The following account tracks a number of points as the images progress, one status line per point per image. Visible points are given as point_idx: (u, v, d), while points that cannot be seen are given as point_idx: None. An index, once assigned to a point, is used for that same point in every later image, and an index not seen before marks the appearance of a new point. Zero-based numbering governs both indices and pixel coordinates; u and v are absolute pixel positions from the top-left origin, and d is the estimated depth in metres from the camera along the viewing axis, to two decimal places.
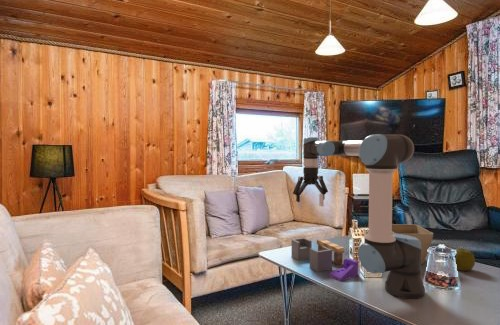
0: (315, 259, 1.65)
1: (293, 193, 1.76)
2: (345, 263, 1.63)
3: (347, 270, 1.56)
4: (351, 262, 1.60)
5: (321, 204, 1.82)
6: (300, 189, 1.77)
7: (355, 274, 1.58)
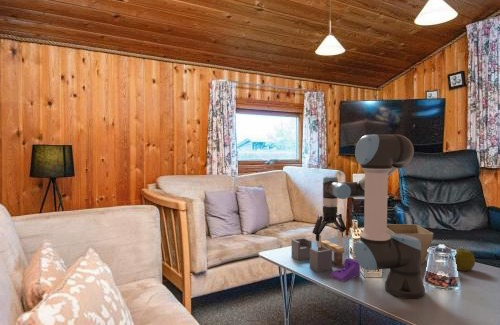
0: (315, 259, 1.65)
1: (313, 232, 1.77)
2: (346, 263, 1.63)
3: (348, 270, 1.56)
4: (352, 262, 1.60)
5: (340, 242, 1.83)
6: (319, 228, 1.78)
7: (356, 274, 1.58)
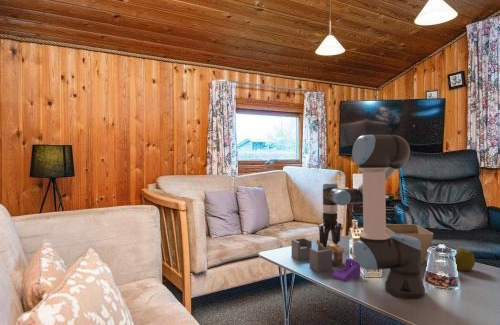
0: (315, 259, 1.65)
1: (320, 242, 1.79)
2: (347, 263, 1.62)
3: (350, 270, 1.56)
4: (353, 262, 1.60)
5: (333, 253, 1.81)
6: (324, 238, 1.79)
7: (357, 274, 1.58)
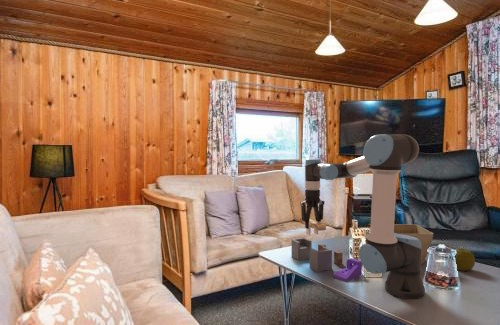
0: (315, 259, 1.65)
1: (302, 220, 1.74)
2: (348, 263, 1.62)
3: (352, 270, 1.56)
4: (355, 262, 1.60)
5: (316, 232, 1.77)
6: (307, 215, 1.74)
7: (359, 274, 1.58)
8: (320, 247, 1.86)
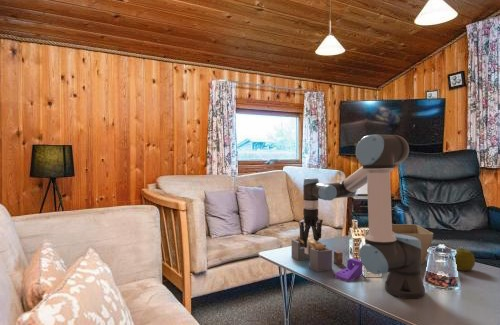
0: (315, 259, 1.65)
1: (300, 239, 1.74)
2: (349, 263, 1.62)
3: (353, 270, 1.56)
4: (356, 262, 1.60)
5: None
6: (305, 234, 1.74)
7: (360, 274, 1.58)
8: None
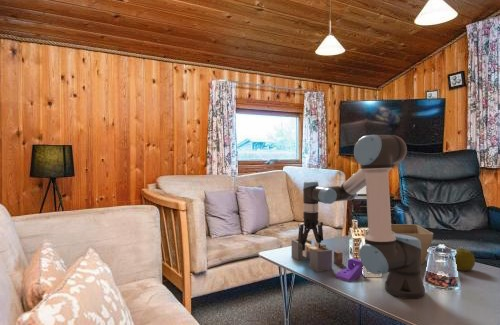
0: (315, 259, 1.65)
1: (298, 242, 1.74)
2: (350, 263, 1.62)
3: (354, 270, 1.56)
4: (356, 262, 1.60)
5: None
6: (303, 237, 1.74)
7: (361, 274, 1.58)
8: (320, 247, 1.86)
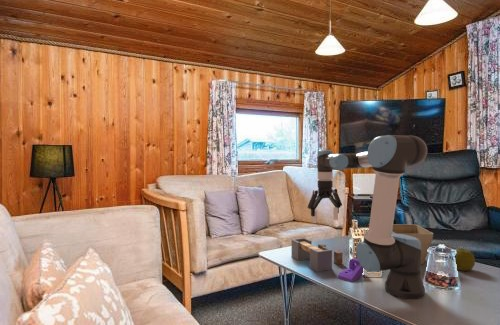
0: (315, 259, 1.65)
1: (308, 207, 1.72)
2: (351, 263, 1.62)
3: (356, 270, 1.56)
4: (358, 262, 1.60)
5: (335, 218, 1.78)
6: (315, 203, 1.72)
7: None
8: (320, 247, 1.86)
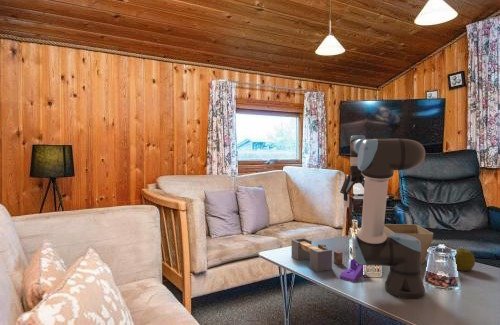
0: (315, 259, 1.65)
1: (341, 192, 1.74)
2: (352, 263, 1.62)
3: (358, 270, 1.56)
4: None
5: None
6: (347, 188, 1.75)
7: None
8: (320, 247, 1.86)
